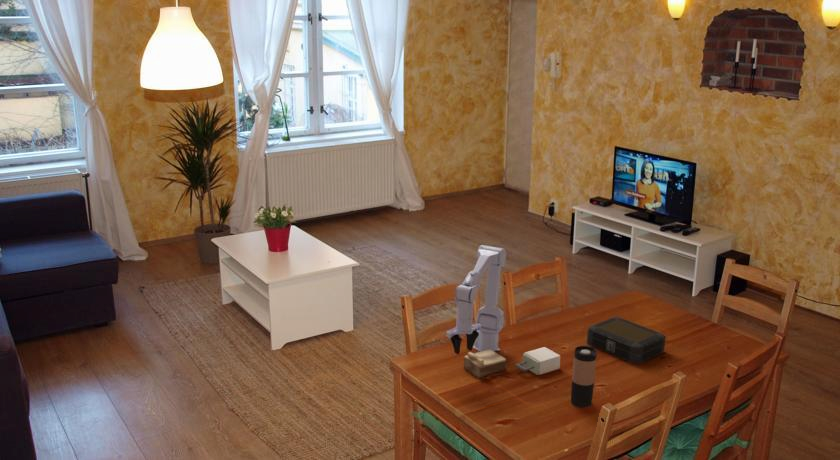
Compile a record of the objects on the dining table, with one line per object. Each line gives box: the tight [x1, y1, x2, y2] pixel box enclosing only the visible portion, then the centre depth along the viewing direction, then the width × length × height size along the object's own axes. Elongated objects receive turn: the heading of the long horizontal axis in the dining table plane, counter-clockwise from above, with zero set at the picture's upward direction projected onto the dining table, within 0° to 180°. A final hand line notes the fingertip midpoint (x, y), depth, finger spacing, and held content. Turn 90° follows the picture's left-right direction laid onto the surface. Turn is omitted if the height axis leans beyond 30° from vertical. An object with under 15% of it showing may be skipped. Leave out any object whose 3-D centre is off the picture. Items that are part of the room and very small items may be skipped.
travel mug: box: [570, 345, 598, 409], centre depth 283 cm, size 8×8×20 cm
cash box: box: [586, 316, 667, 365], centre depth 329 cm, size 25×20×8 cm
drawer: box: [515, 353, 540, 376], centre depth 307 cm, size 9×15×6 cm, turn 123°
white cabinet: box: [523, 346, 561, 375], centre depth 308 cm, size 9×10×6 cm
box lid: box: [463, 349, 507, 368], centre depth 306 cm, size 10×12×2 cm
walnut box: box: [463, 358, 507, 379], centre depth 307 cm, size 10×12×5 cm
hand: (463, 351), depth 299 cm, fingers open, 5 cm apart
